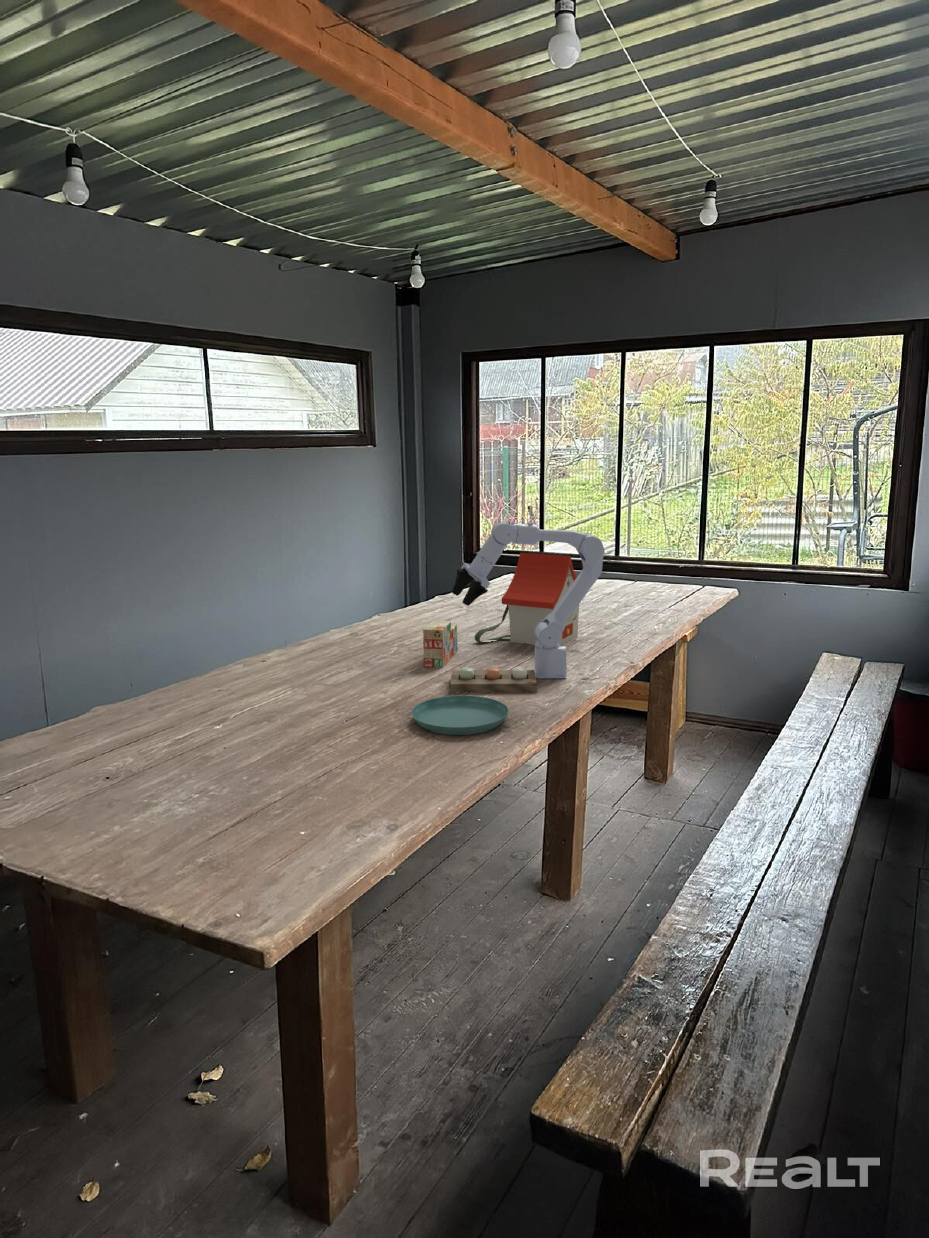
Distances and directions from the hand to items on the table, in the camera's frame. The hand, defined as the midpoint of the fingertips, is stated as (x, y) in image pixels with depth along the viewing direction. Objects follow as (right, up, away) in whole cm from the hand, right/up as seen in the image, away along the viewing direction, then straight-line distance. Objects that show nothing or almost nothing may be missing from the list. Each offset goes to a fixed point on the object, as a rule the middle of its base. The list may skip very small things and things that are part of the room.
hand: (459, 599), depth 243 cm
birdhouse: (+26, -13, +54) cm, 61 cm away
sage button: (+2, -23, -3) cm, 23 cm away
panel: (+10, -25, -3) cm, 27 cm away
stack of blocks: (-6, -19, +27) cm, 33 cm away
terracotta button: (+10, -23, -3) cm, 25 cm away
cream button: (+17, -23, -3) cm, 29 cm away
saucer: (0, -32, -33) cm, 46 cm away
